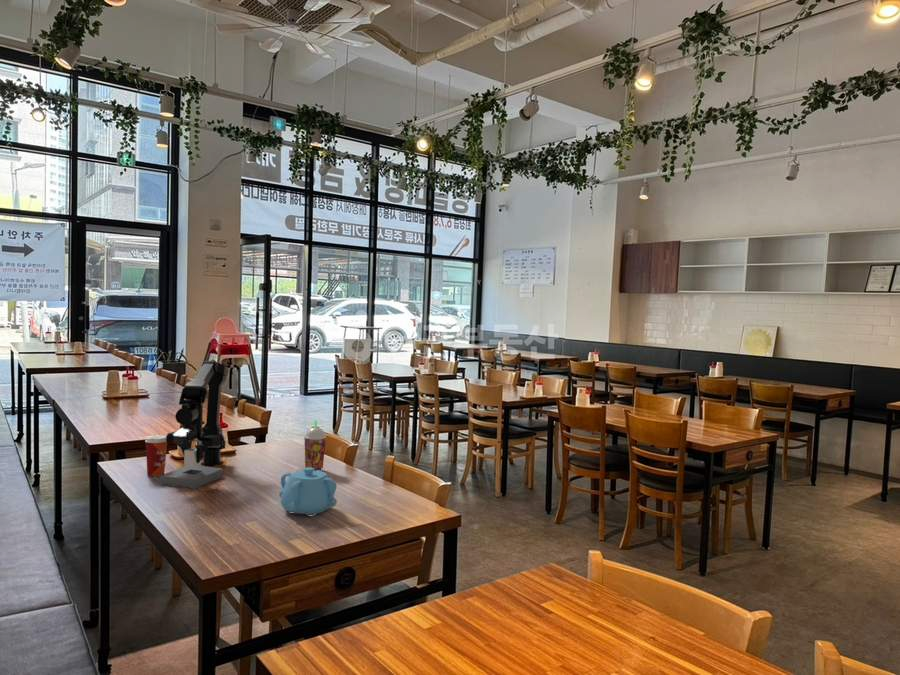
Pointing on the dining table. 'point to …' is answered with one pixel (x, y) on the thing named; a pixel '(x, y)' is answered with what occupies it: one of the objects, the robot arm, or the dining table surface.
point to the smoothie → (314, 448)
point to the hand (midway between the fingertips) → (192, 462)
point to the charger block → (191, 458)
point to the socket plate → (191, 476)
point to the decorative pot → (307, 491)
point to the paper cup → (156, 454)
